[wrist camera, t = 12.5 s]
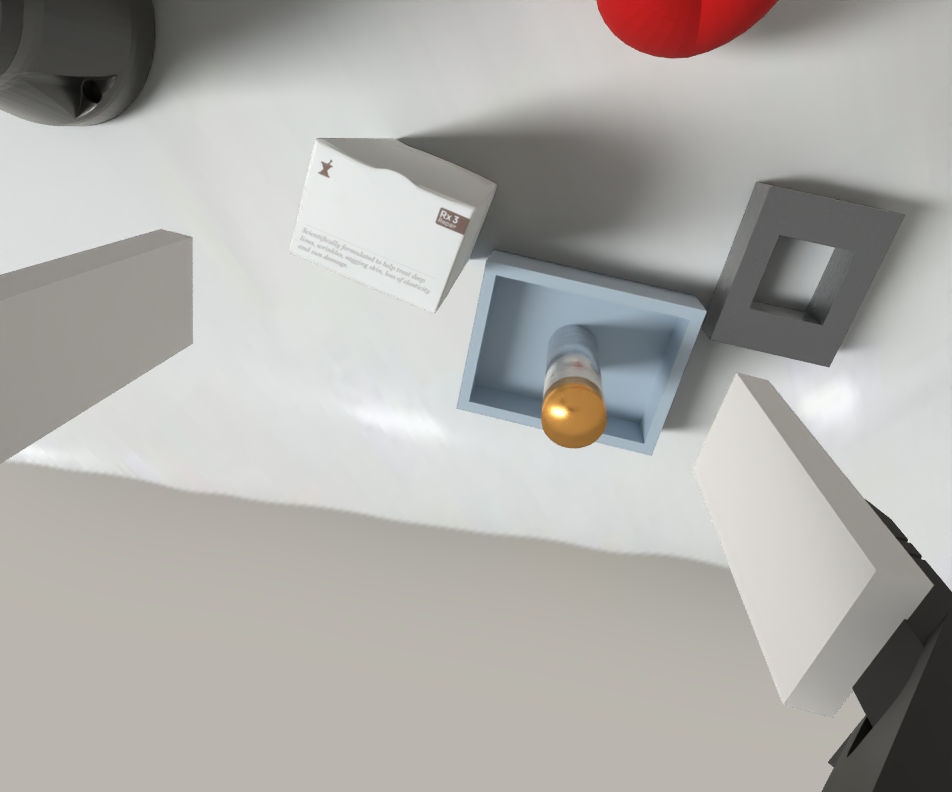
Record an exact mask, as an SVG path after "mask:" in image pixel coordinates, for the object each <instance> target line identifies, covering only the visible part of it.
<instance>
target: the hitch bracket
mask: <svg viewBox="0 0 952 792" xmlns="http://www.w3.org/2000/svg"><path fill="white" fill-rule="evenodd" d="M904 216H905V215H903V214H899V213H895V212H891V211H887V210H883V209H878V208H874V207H869V206H865V205H860V204H855V203H851V202H846V201H842V200H837V199H832V198H828V197H823V196H819V195H814V194H809V193H805V192H800V191H796V190H791V189H787V188H782V187H777V186H773V185H768V184H764V183H759V182H756V184H755V187H754V190H753V192H752V195H751V197H750V200H749V203H748V205H747V208H746V211H745V213H744V216H743V218H742V221H741V224H740V226H739V229H738V232H737V234H736V237H735V239H734V242H733V245H732V247H731V250H730V252H729V255H728V258H727V260H726V263H725V266H724V268H723V271H722V273H721V276H720V279H719V281H718V284H717V287H716V289H715V292H714V294H713V297H712V300H711V302H710V305H709V308H708V310H707V313H706V315H705V318H704V321H703V323H702V326H701V327H702V328H703V330H704V331H705V333H706V334H707V336H708V337H709V338H710V340H713V341H718V342H722V343H726V344H731V345H735V346H739V347H744V348H748V349H752V350H757V351H761V352H765V353H770V354H774V355H778V356H783V357H787V358H791V359H795V360H800V361H804V362H808V363H813V364H817V365H821V366H826V367H830V365H831V363H832V361H833V359H834V357H835V355H836V353H837V351H838V349H839V347H840V345H841V343H842V341H843V339H844V337H845V335H846V333H847V331H848V329H849V327H850V324H851V322H852V320H853V318H854V316H855V314H856V312H857V310H858V308H859V306H860V304H861V302H862V300H863V298H864V296H865V294H866V292H867V290H868V288H869V286H870V284H871V282H872V280H873V278H874V276H875V274H876V272H877V270H878V268H879V266H880V264H881V262H882V260H883V258H884V256H885V254H886V252H887V250H888V248H889V246H890V244H891V242H892V240H893V238H894V236H895V234H896V232H897V230H898V228H899V226H900V224H901V222H902V220H903V218H904ZM779 235H781V236H786V237H791V238H795V239H800V240H804V241H809V242H813V243H818V244H822V245H827V246H831V247H835V250H834V252H833V254H832V256H831V258H830V261H829V263H828V265H827V267H826V269H825V271H824V274H823V276H822V278H821V280H820V282H819V285H818V287H817V289H816V291H815V293H814V295H813V298H812V300H811V302H810V304H809V306H808V309H807V311H806V312H801V311H797V310H792V309H788V308H784V307H779V306H775V305H771V304H766V303H762V302H757V301H753V298H754V296H755V293H756V291H757V288H758V286H759V283H760V281H761V279H762V276H763V274H764V271H765V269H766V267H767V264H768V262H769V259H770V257H771V254H772V252H773V250H774V247H775V245H776V242H777V240H778V238H779Z"/></svg>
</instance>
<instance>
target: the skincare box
mask: <svg viewBox="0 0 952 792" xmlns="http://www.w3.org/2000/svg"><path fill="white" fill-rule="evenodd" d="M496 189H497V184H495V183H493V182H492V181H490V180H488V179H486V178H484V177H482V176H480V175H477V174H475V173H473V172H471V171H469V170H467V169H464V168H462V167H460V166H458V165H455V164H453V163H451V162H448V161H446V160H443V159H441V158H438V157H436V156H433V155H431V154H429V153H426V152H424V151H421V150H418V149H415V148H412V147H410V146H407V145H405V144H403V143H401V142H399V141H397V140H395V139H374V138H317V139H315V141H314V145H313V150H312V155H311V159H310V163H309V167H308V170H307V175H306V179H305V184H304V188H303V193H302V197H301V202H300V206H299V210H298V215H297V219H296V224H295V228H294V233H293V237H292V240H291V244H290V248H289V252H290V253H291V254H293V255H295V256H297V257H299V258H302V259H304V260H307V261H309V262H311V263H314V264H316V265H318V266H320V267H323V268H325V269H327V270H330V271H332V272H334V273H337V274H339V275H341V276H344V277H346V278H348V279H350V280H353V281H355V282H358V283H360V284H362V285H365V286H367V287H370V288H372V289H374V290H377V291H379V292H382V293H384V294H387V295H389V296H391V297H394V298H396V299H399V300H401V301H403V302H406V303H408V304H411V305H413V306H416V307H418V308H421V309H423V310H426V311H428V312H431V313H436V311H437V310H438V308H439V307H440V305H441V304H442V302H443V301H444V299H445V298H446V297H447V295H448V293H449V291H450V289H451V288H452V286H453V284H454V283H455V281H456V279H457V278H458V276H459V275H460V273H461V271H462V270H463V268H464V266H465V265H466V263H467V262H468V260H469V258H470V256H471V253H472V250H473V248H474V245H475V243H476V240H477V238H478V236H479V233H480V230H481V228H482V225H483V223H484V220H485V218H486V215H487V213H488V210H489V208H490V205H491V202H492V200H493V197H494V194H495V192H496Z"/></svg>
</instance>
